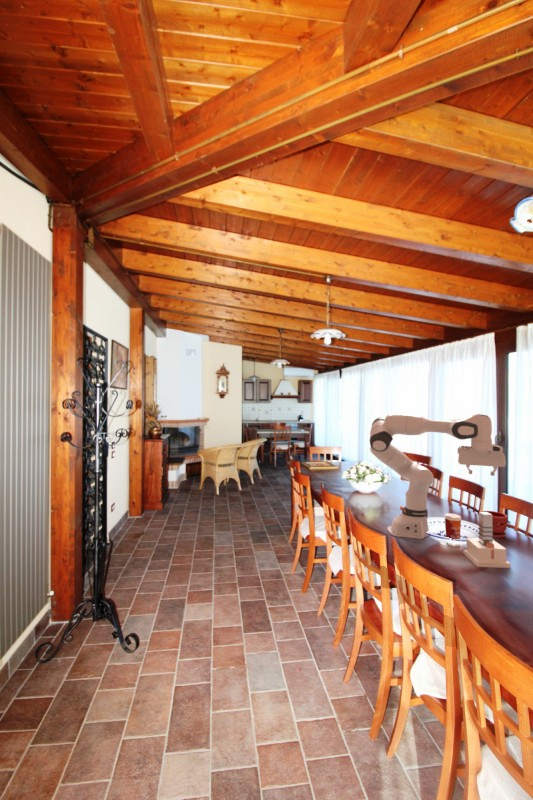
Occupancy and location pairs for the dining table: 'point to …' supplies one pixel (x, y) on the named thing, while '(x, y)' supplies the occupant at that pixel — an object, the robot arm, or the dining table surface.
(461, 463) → the robot arm
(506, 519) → the plant pot
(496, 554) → the sleeve stand
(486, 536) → the column
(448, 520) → the coffee cup
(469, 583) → the dining table surface
